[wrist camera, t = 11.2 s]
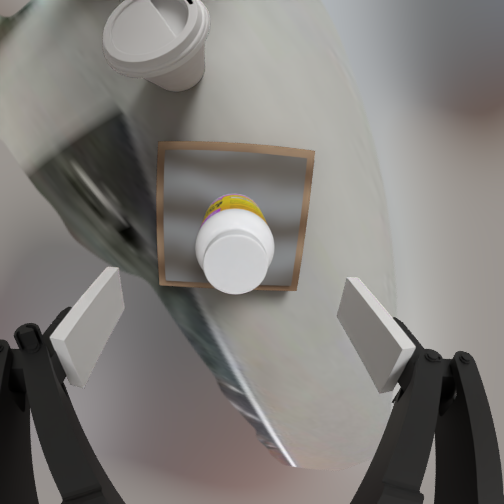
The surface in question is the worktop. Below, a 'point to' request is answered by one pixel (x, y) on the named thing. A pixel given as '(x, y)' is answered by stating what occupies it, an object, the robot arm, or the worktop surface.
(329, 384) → the worktop surface
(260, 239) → the supplement bottle
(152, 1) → the coffee cup
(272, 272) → the plinth
